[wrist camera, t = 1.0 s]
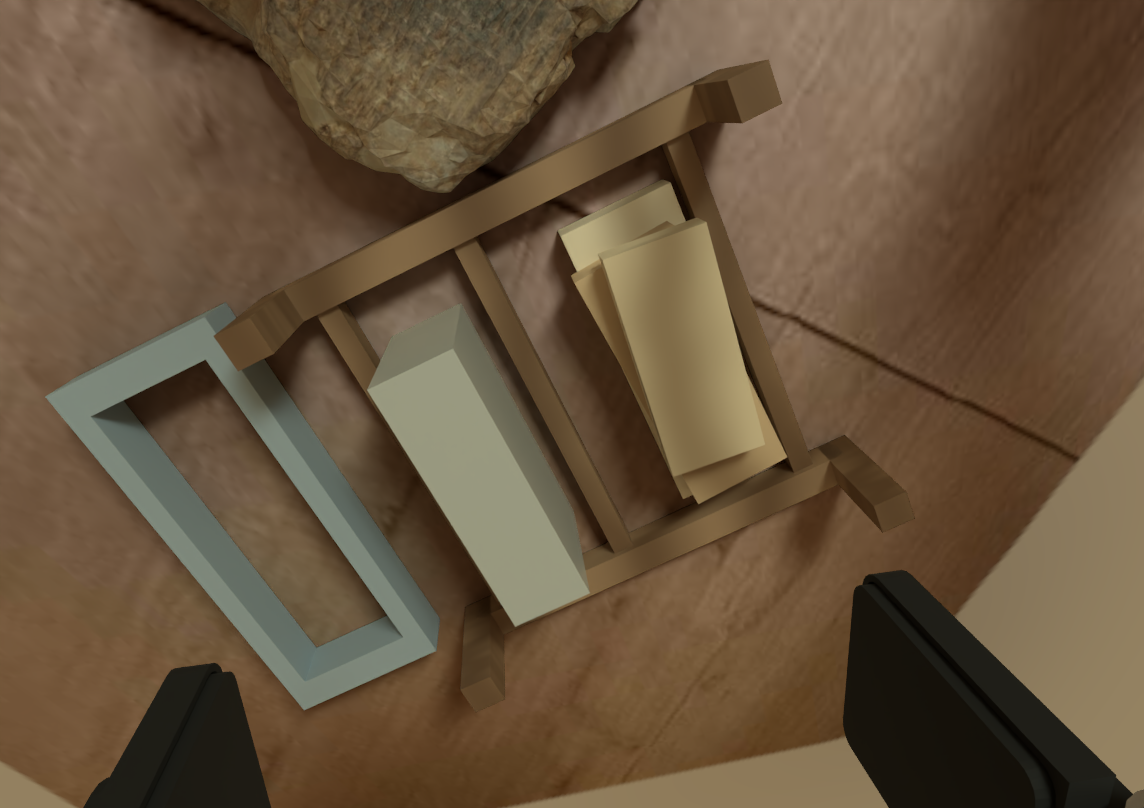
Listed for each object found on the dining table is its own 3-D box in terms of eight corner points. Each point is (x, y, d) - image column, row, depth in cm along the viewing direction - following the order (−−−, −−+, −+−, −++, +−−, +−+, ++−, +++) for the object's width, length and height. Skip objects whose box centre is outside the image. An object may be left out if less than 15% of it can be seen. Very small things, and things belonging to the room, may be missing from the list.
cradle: (225, 302, 32) (204, 317, 29) (439, 618, 39) (436, 650, 36) (77, 376, 32) (45, 396, 30) (315, 675, 39) (304, 710, 37)
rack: (718, 69, 30) (768, 59, 25) (852, 458, 38) (915, 518, 32) (262, 297, 32) (213, 335, 26) (478, 627, 39) (475, 712, 34)
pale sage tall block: (461, 302, 33) (453, 348, 26) (573, 509, 37) (590, 593, 31) (392, 336, 33) (366, 389, 27) (511, 538, 37) (515, 626, 31)
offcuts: (666, 177, 32) (692, 186, 27) (770, 440, 37) (805, 482, 33) (551, 233, 32) (559, 251, 28) (670, 486, 37) (692, 533, 33)
